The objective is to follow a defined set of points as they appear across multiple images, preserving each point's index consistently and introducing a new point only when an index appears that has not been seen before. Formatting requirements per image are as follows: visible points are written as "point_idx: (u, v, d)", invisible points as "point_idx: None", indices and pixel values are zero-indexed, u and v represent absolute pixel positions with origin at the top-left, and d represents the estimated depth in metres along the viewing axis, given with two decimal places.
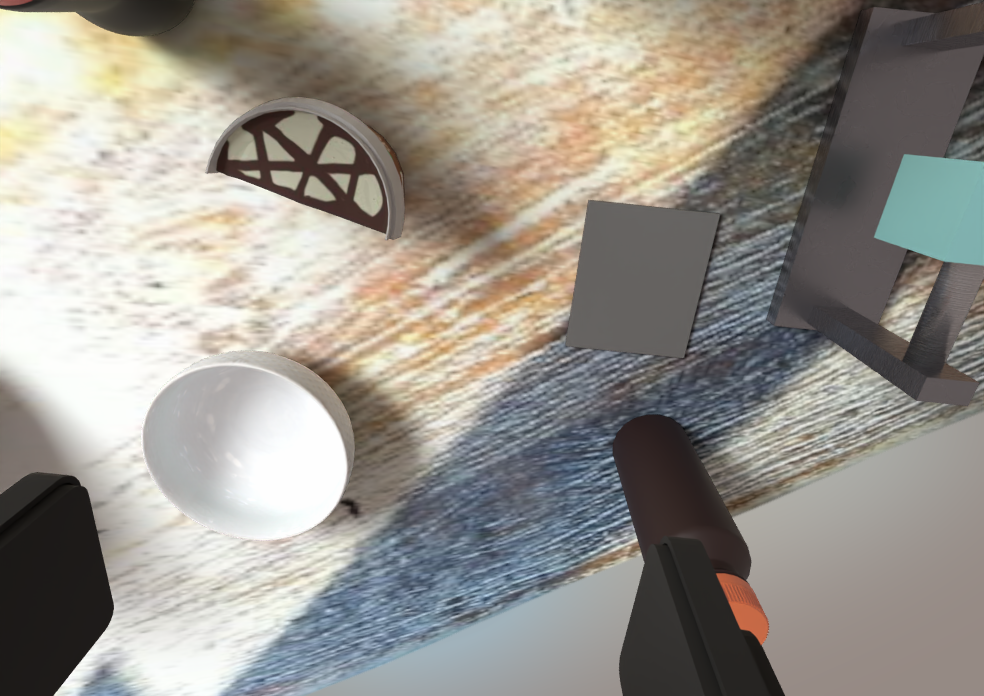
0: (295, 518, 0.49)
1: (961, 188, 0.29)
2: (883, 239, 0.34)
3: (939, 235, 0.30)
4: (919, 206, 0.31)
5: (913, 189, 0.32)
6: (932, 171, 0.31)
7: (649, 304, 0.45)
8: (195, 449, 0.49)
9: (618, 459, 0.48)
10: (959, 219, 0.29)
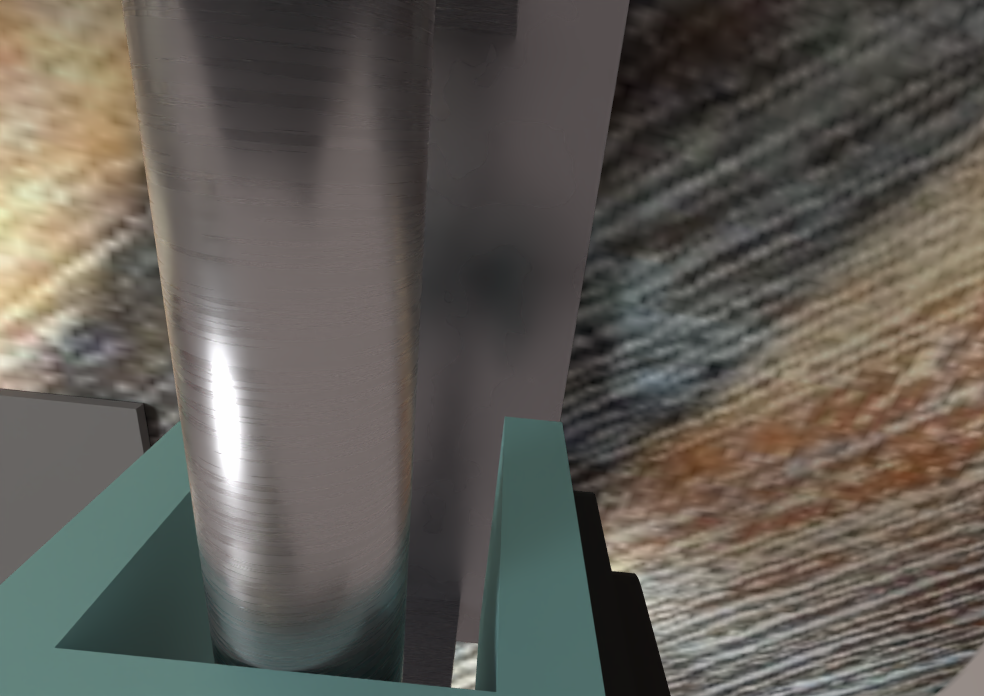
0: None
1: None
2: None
3: None
4: None
5: None
6: None
7: None
8: None
9: None
10: None
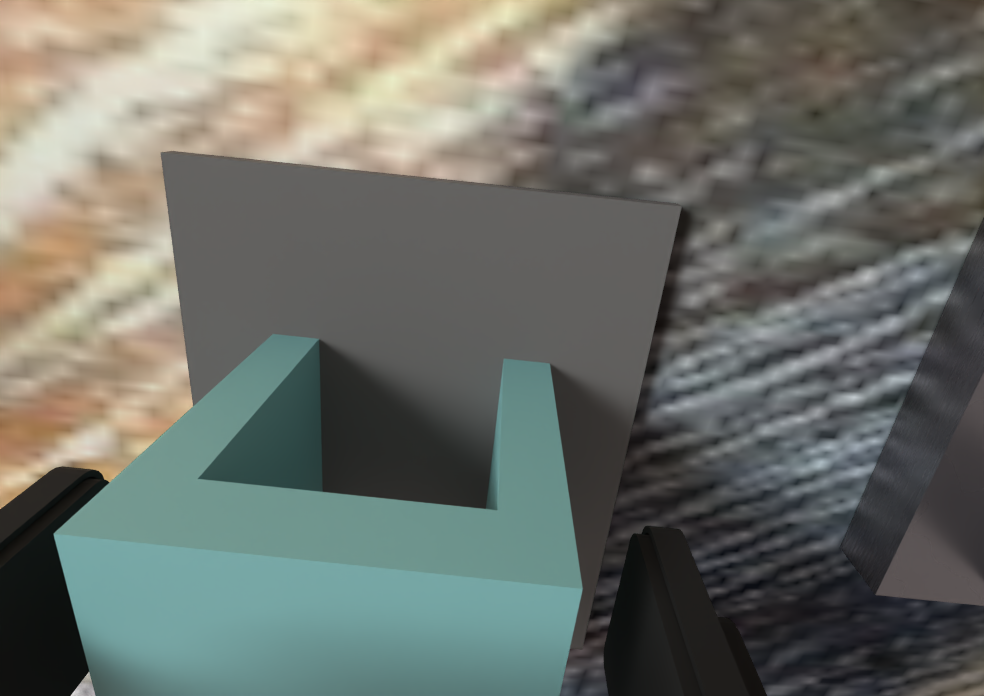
0: None
1: None
2: None
3: None
4: None
5: None
6: None
7: None
8: None
9: None
10: None
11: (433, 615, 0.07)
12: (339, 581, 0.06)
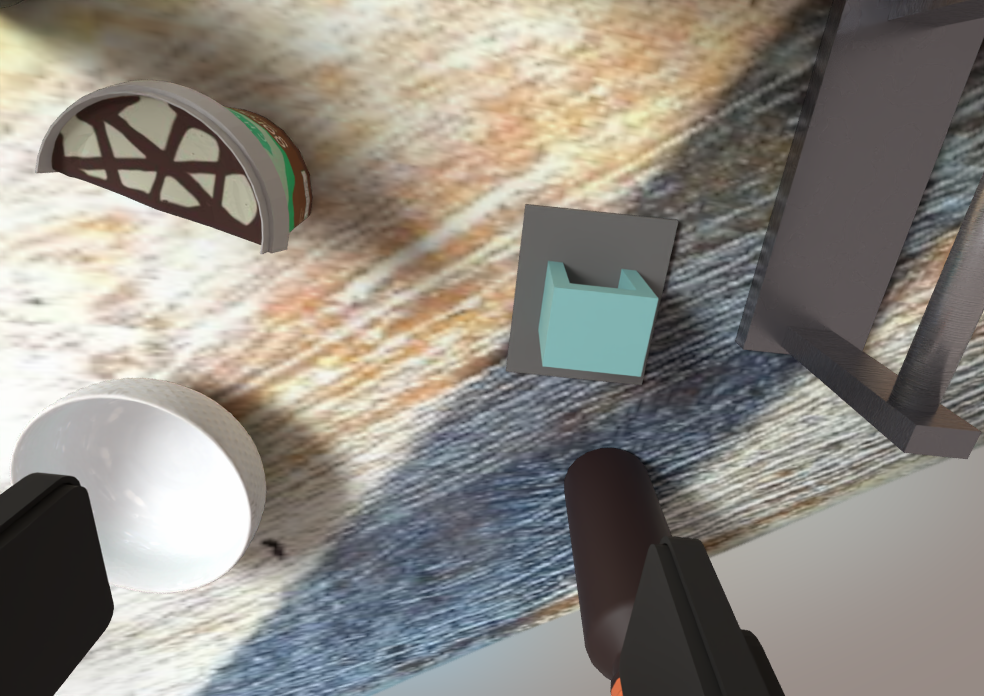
0: (201, 566, 0.43)
1: (550, 305, 0.33)
2: None
3: (544, 342, 0.34)
4: (545, 311, 0.36)
5: (545, 295, 0.36)
6: (549, 283, 0.35)
7: None
8: (87, 487, 0.43)
9: (567, 500, 0.42)
10: (547, 332, 0.33)
11: (627, 305, 0.32)
12: (609, 297, 0.32)
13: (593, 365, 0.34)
